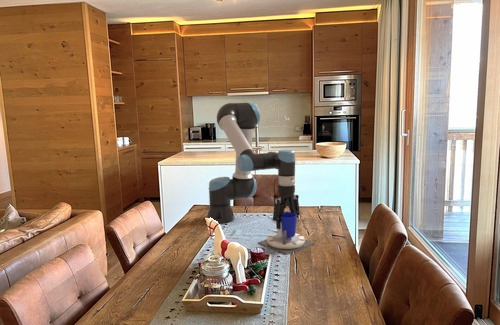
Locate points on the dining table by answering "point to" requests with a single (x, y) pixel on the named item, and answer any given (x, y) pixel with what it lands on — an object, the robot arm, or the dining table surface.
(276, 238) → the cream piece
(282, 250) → the bearing plate
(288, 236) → the mug
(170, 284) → the dining table surface
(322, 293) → the dining table surface
